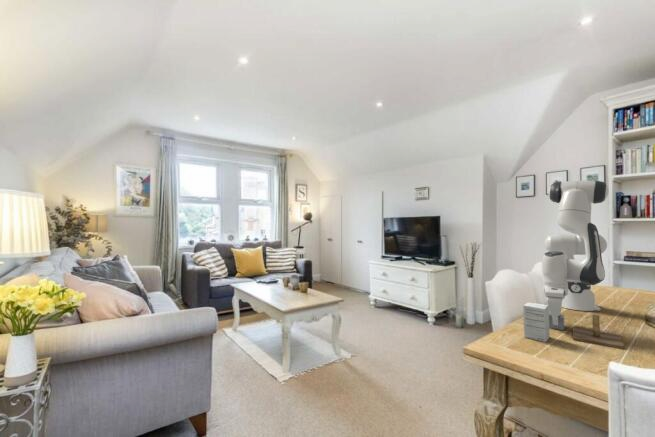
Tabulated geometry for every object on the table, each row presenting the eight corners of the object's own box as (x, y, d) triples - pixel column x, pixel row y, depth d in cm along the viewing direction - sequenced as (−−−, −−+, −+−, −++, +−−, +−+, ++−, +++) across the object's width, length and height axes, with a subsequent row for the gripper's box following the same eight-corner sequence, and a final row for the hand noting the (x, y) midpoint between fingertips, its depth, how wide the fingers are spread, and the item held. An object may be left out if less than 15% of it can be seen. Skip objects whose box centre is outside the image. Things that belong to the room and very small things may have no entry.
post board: (573, 329, 126) (572, 308, 126) (619, 337, 117) (618, 314, 117) (573, 339, 115) (572, 316, 115) (624, 349, 106) (623, 323, 106)
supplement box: (528, 332, 124) (527, 301, 124) (550, 337, 118) (549, 304, 119) (523, 337, 118) (522, 305, 119) (546, 342, 113) (545, 308, 113)
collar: (547, 323, 134) (547, 312, 134) (564, 326, 130) (564, 314, 130) (546, 327, 129) (545, 315, 130) (564, 330, 126) (563, 318, 126)
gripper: (547, 284, 140) (548, 314, 140) (544, 292, 124) (545, 326, 124) (564, 286, 136) (565, 317, 136) (563, 294, 120) (564, 329, 120)
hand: (556, 321), depth 129 cm, fingers open, 8 cm apart
